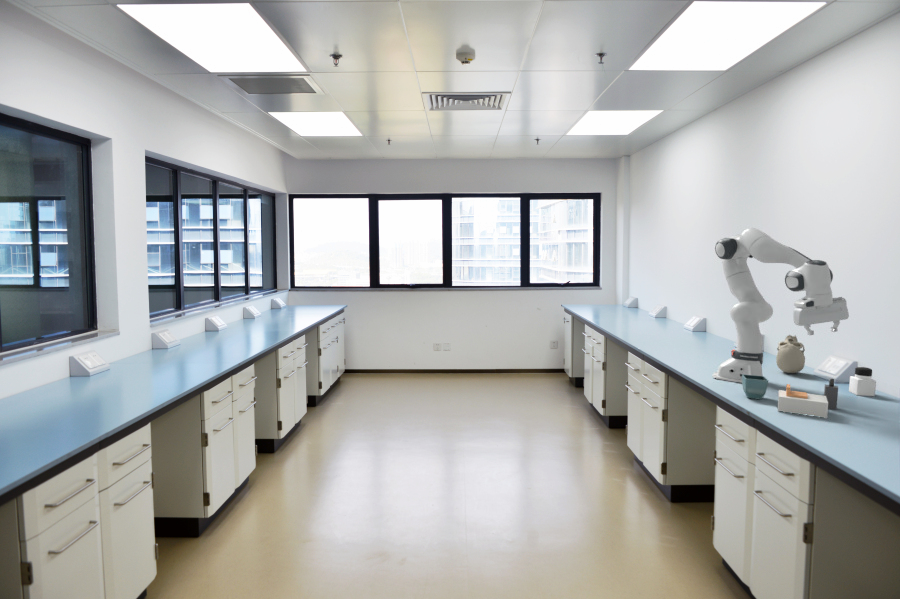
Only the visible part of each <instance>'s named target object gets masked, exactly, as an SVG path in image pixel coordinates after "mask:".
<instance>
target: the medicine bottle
mask: <svg viewBox="0 0 900 599" xmlns="http://www.w3.org/2000/svg"><path fill="white" fill-rule="evenodd" d="M872 377H873V370H872V368H870V367H865V366H857V367H855V368H854V376H853V375H852V376H851V375H850V376H849V385H848V392H849V393H852V394H853V395H856V396H860V397H861V396H862V397H865V396H867V397H875V396H876V386H877V380H875V379H873V378H872Z"/></svg>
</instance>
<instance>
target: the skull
mask: <svg viewBox="0 0 900 599" xmlns="http://www.w3.org/2000/svg"><path fill="white" fill-rule="evenodd" d="M801 349H802V350H801ZM776 350H777V354H776V358H775V359H776V366H777V368H778V369H779V370H780V371H782V372H784V373H786V374H787V373H788V374H796V373H799V372H801V371H803V369H804V368H805V362H806V356H805V353H804V352H805V346H804V343H802V342H799V341H798V337H797V336H796V334H794V335H790V334H788V335H786V336H785V340H784V341H779V342H778V347H777V348H776Z"/></svg>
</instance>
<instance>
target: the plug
mask: <svg viewBox="0 0 900 599" xmlns="http://www.w3.org/2000/svg"><path fill="white" fill-rule="evenodd" d="M823 389H824V391H823V396H826V398H827V401H828V410H833V409H834V410H835V411H837V407H838V398H839V397H838V394H839V387H838V385H835V378H829V382H828V384H826V383H825V384H824V388H823ZM834 410H833V411H834Z"/></svg>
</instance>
